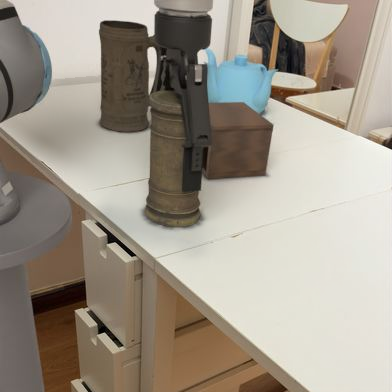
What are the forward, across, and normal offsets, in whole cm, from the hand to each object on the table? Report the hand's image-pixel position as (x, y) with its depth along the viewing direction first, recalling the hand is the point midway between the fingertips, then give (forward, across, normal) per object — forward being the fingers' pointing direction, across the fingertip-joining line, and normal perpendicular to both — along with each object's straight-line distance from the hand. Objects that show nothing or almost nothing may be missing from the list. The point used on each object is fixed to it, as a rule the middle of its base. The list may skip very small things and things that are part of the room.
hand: (176, 172), depth 82 cm
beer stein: (+7, +46, -5) cm, 47 cm away
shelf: (+7, +20, -17) cm, 27 cm away
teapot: (+7, +54, -32) cm, 64 cm away
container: (+7, 0, 0) cm, 7 cm away
